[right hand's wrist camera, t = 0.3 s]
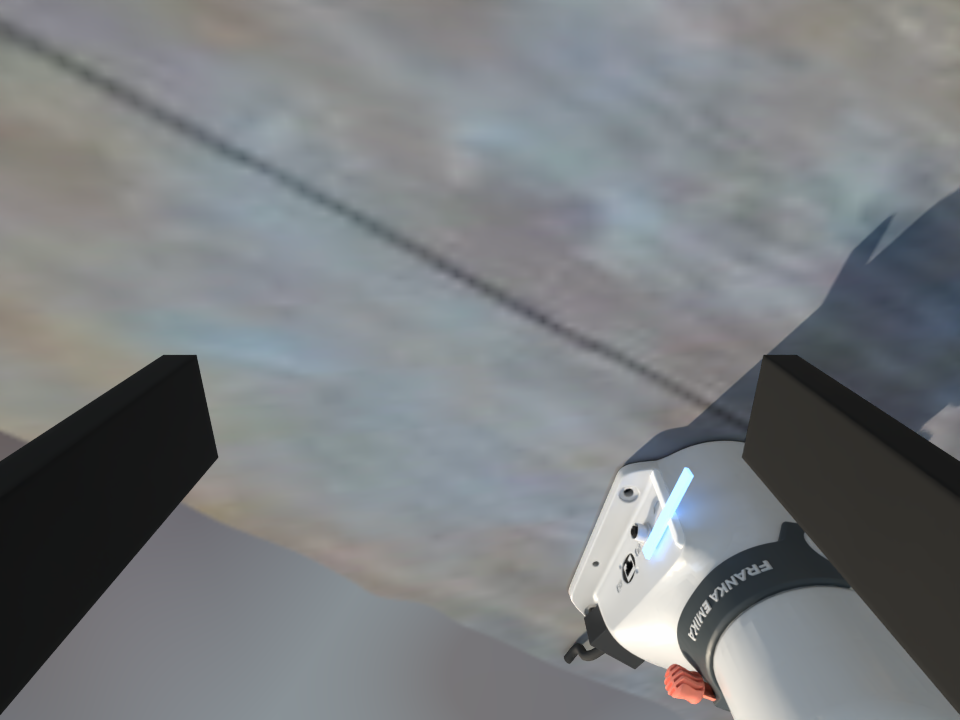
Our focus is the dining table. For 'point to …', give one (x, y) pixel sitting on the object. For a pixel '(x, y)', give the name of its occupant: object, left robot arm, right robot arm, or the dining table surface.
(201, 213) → the dining table surface
